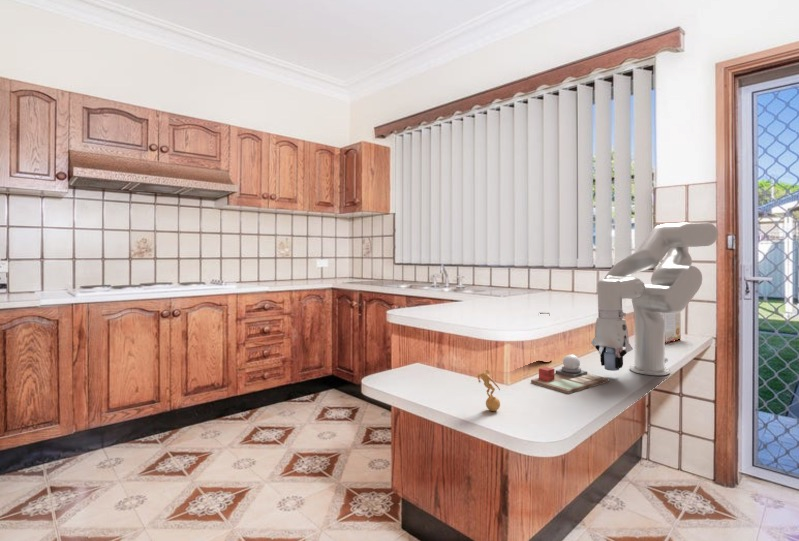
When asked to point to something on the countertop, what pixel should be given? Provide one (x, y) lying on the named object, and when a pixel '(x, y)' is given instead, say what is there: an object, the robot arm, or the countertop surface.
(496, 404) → the figurine
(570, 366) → the white ball on base
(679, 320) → the cracker box
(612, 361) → the blue stoppered bottle
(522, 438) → the countertop surface
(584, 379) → the game board
